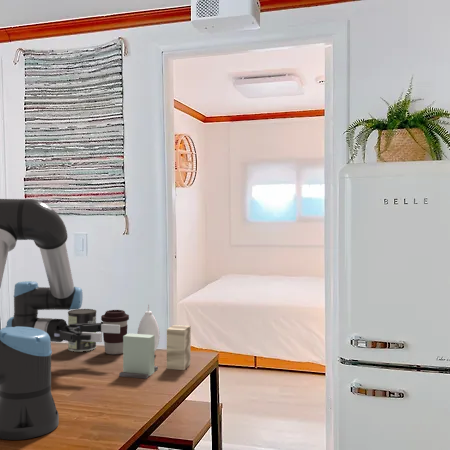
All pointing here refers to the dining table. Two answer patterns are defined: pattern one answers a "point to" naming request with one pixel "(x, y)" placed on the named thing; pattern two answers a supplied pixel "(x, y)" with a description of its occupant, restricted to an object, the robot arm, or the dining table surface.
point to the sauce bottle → (149, 326)
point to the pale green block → (138, 353)
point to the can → (81, 318)
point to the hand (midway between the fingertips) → (110, 333)
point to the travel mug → (115, 340)
